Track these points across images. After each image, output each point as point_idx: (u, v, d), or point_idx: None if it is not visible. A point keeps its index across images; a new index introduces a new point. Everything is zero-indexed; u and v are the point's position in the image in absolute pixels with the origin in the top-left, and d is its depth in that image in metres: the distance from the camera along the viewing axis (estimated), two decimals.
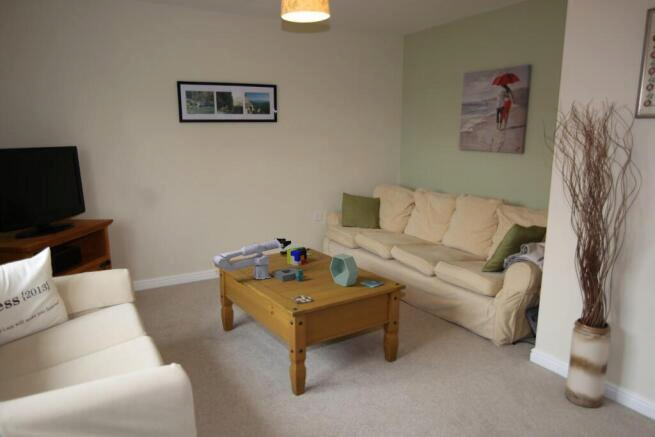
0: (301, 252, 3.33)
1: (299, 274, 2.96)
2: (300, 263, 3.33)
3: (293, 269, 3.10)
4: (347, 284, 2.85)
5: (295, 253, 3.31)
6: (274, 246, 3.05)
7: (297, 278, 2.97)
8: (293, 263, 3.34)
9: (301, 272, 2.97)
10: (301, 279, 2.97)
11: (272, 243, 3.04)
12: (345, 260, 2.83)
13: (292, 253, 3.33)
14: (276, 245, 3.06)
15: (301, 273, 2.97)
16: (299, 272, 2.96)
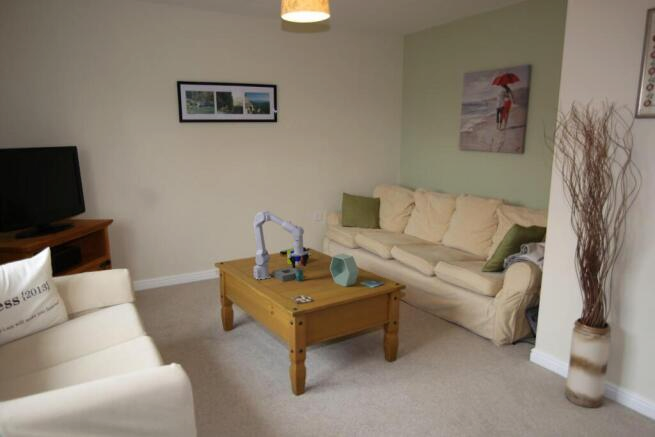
0: None
1: (299, 274, 2.96)
2: (300, 263, 3.33)
3: (293, 269, 3.10)
4: (347, 284, 2.85)
5: None
6: (294, 249, 2.94)
7: (297, 278, 2.97)
8: None
9: (301, 272, 2.97)
10: (301, 279, 2.97)
11: (296, 248, 2.92)
12: (345, 260, 2.83)
13: None
14: (294, 252, 2.94)
15: (301, 273, 2.97)
16: (299, 272, 2.96)
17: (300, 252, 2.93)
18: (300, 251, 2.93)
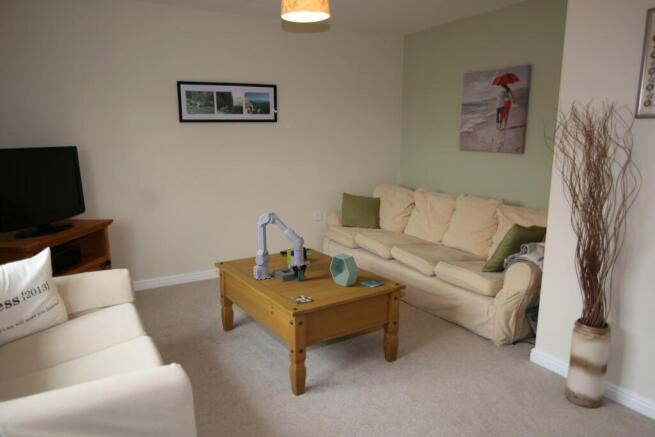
0: None
1: (299, 274, 2.96)
2: None
3: None
4: (347, 284, 2.85)
5: None
6: (294, 259, 2.95)
7: (297, 278, 2.97)
8: None
9: (301, 272, 2.97)
10: (301, 279, 2.97)
11: (297, 259, 2.94)
12: (345, 260, 2.83)
13: (292, 253, 3.33)
14: (295, 262, 2.95)
15: (301, 273, 2.97)
16: (299, 272, 2.96)
17: (300, 262, 2.94)
18: (300, 261, 2.94)
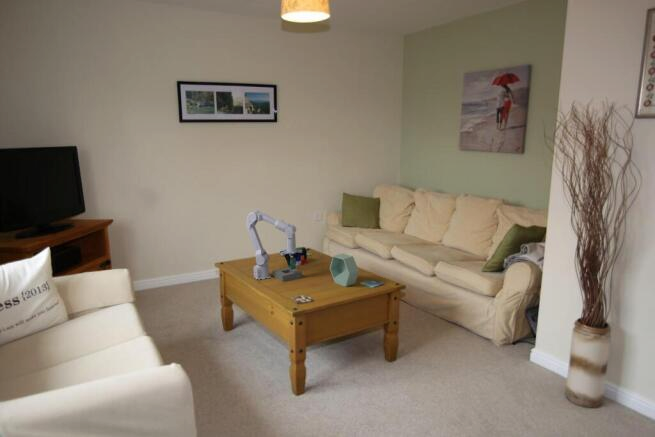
0: None
1: (291, 262, 2.99)
2: (300, 263, 3.33)
3: (293, 269, 3.10)
4: (347, 284, 2.85)
5: None
6: (287, 247, 2.98)
7: (289, 266, 3.00)
8: None
9: (293, 260, 3.00)
10: (293, 267, 3.00)
11: (289, 246, 2.97)
12: (345, 260, 2.83)
13: None
14: (287, 250, 2.98)
15: (293, 261, 3.00)
16: (291, 260, 2.99)
17: (292, 250, 2.97)
18: (292, 249, 2.97)
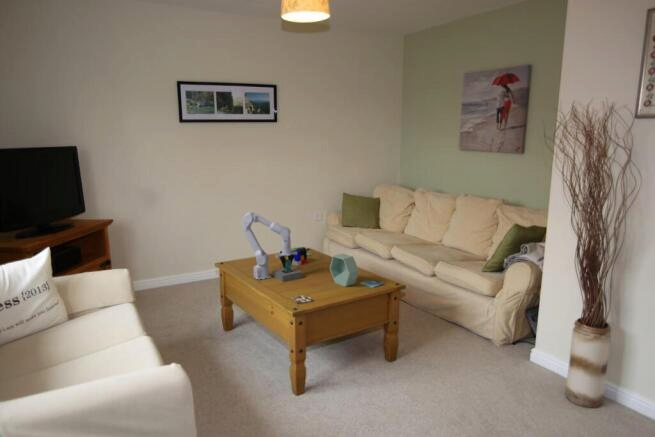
0: (301, 252, 3.33)
1: (287, 264, 3.03)
2: (300, 263, 3.33)
3: (293, 269, 3.10)
4: (347, 284, 2.85)
5: None
6: (282, 250, 3.02)
7: (285, 268, 3.04)
8: (293, 263, 3.34)
9: (289, 262, 3.03)
10: (289, 269, 3.04)
11: (284, 249, 3.00)
12: (345, 260, 2.83)
13: None
14: (282, 252, 3.02)
15: (289, 263, 3.03)
16: (287, 262, 3.02)
17: (288, 252, 3.01)
18: (288, 251, 3.01)
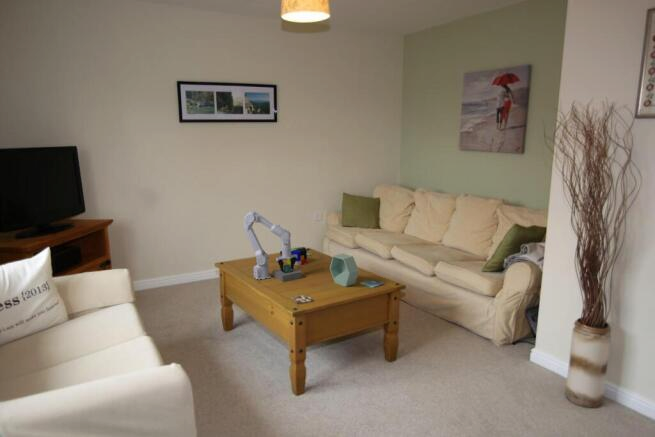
0: (301, 252, 3.33)
1: (287, 269, 3.03)
2: (300, 263, 3.33)
3: (293, 269, 3.10)
4: (347, 284, 2.85)
5: (295, 253, 3.31)
6: (282, 253, 3.02)
7: None
8: None
9: (289, 267, 3.04)
10: None
11: (284, 252, 3.01)
12: (345, 260, 2.83)
13: (292, 253, 3.33)
14: (282, 255, 3.02)
15: (289, 269, 3.04)
16: (287, 267, 3.03)
17: (288, 255, 3.01)
18: (288, 254, 3.01)
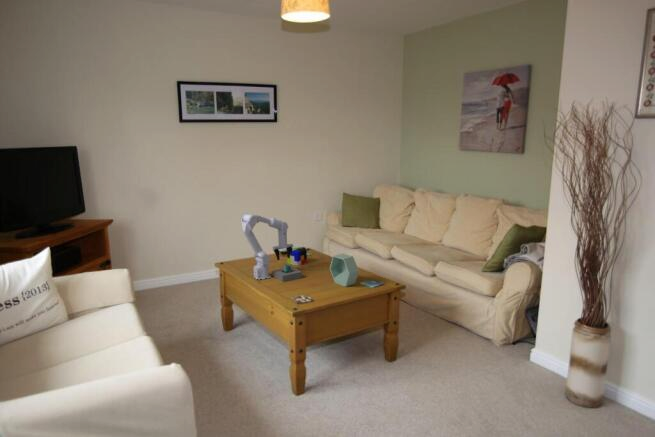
0: (301, 252, 3.33)
1: (287, 269, 3.03)
2: (300, 263, 3.33)
3: (293, 269, 3.10)
4: (347, 284, 2.85)
5: (295, 253, 3.31)
6: (278, 241, 3.12)
7: None
8: (293, 263, 3.34)
9: (289, 267, 3.04)
10: None
11: (280, 241, 3.10)
12: (345, 260, 2.83)
13: (292, 253, 3.33)
14: (279, 244, 3.12)
15: (289, 269, 3.04)
16: (287, 267, 3.03)
17: (284, 245, 3.11)
18: (284, 244, 3.11)
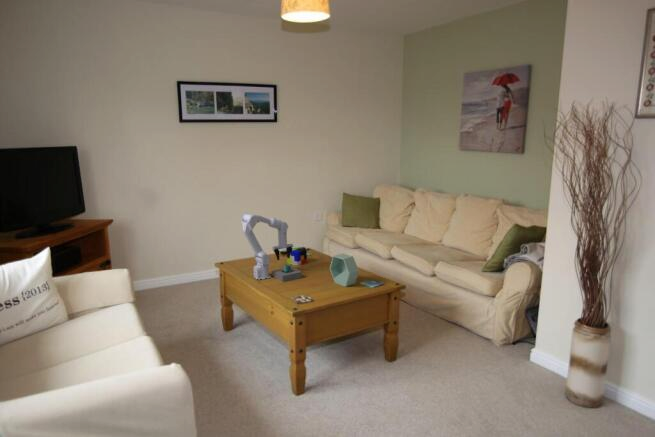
0: (301, 252, 3.33)
1: (287, 269, 3.03)
2: (300, 263, 3.33)
3: (293, 269, 3.10)
4: (347, 284, 2.85)
5: (295, 253, 3.31)
6: (278, 242, 3.12)
7: None
8: (293, 263, 3.34)
9: (289, 267, 3.04)
10: None
11: (280, 241, 3.11)
12: (345, 260, 2.83)
13: (292, 253, 3.33)
14: None
15: (289, 269, 3.04)
16: (287, 267, 3.03)
17: (284, 245, 3.11)
18: (284, 244, 3.11)
